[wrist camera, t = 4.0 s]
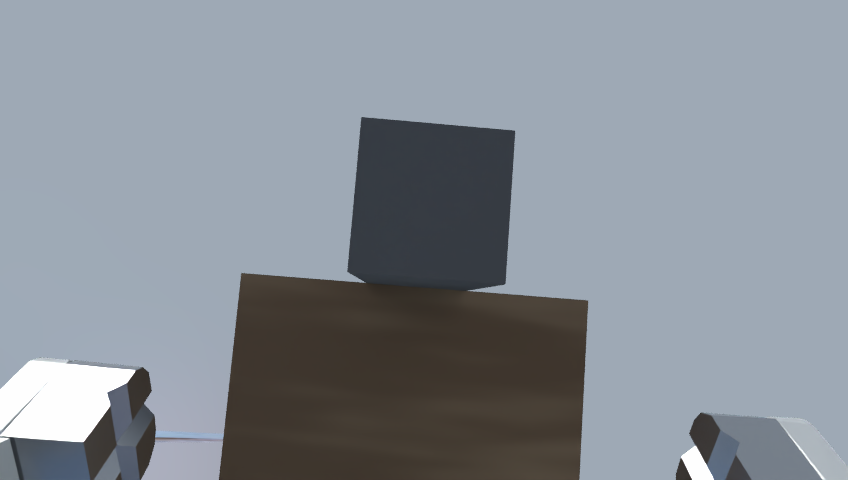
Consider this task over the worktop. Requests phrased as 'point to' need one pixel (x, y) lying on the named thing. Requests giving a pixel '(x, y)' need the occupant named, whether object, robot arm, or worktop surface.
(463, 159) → the long grey square rod
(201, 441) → the worktop surface
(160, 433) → the worktop surface
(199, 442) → the worktop surface
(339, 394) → the walnut stand
